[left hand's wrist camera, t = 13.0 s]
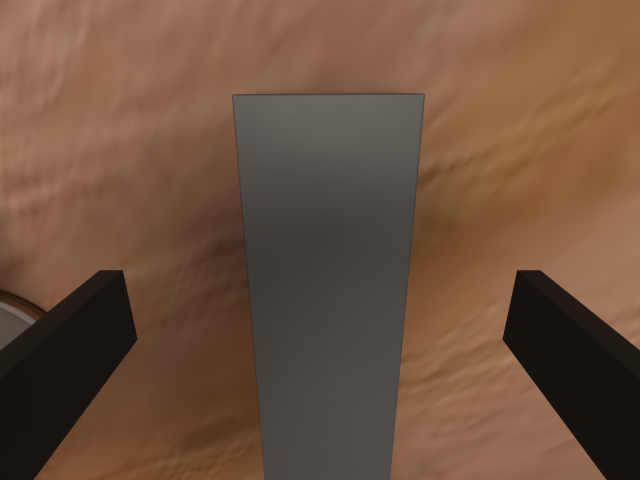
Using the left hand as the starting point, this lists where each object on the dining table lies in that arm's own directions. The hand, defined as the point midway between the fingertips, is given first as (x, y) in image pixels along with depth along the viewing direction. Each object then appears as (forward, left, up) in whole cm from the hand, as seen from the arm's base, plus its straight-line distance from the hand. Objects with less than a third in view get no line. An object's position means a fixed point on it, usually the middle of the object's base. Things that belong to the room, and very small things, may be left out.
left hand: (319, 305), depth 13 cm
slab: (-16, -29, -17) cm, 37 cm away
